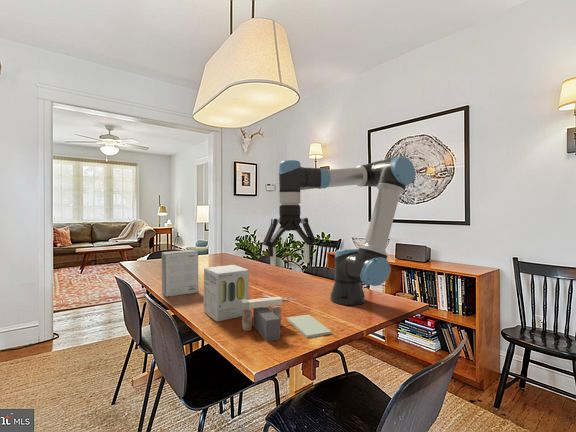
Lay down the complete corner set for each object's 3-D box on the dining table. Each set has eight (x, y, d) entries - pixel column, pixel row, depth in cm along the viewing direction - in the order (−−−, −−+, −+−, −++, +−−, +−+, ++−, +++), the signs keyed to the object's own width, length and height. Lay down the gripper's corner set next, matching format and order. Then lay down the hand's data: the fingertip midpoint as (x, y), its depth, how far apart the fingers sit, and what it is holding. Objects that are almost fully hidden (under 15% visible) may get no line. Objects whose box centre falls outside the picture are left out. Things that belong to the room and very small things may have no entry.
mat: (308, 316, 115) (308, 314, 115) (331, 333, 99) (331, 331, 99) (286, 319, 111) (286, 317, 111) (306, 337, 96) (306, 335, 96)
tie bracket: (277, 322, 109) (278, 305, 108) (280, 325, 106) (281, 308, 106) (242, 327, 104) (242, 310, 104) (244, 330, 101) (244, 312, 101)
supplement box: (216, 322, 108) (216, 273, 108) (203, 312, 119) (203, 267, 119) (249, 315, 116) (249, 269, 116) (234, 305, 127) (234, 264, 126)
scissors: (281, 304, 128) (249, 295, 141) (281, 306, 128) (249, 296, 141) (297, 299, 136) (266, 290, 149) (297, 301, 136) (266, 292, 149)
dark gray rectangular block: (265, 323, 108) (265, 305, 108) (279, 339, 95) (279, 318, 95) (253, 325, 106) (253, 307, 106) (266, 341, 93) (266, 320, 93)
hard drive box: (194, 289, 153) (194, 249, 152) (198, 292, 146) (199, 251, 146) (161, 293, 144) (161, 251, 144) (164, 297, 138) (164, 253, 137)
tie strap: (279, 302, 109) (279, 295, 109) (282, 305, 106) (282, 298, 106) (240, 306, 104) (240, 299, 104) (243, 310, 100) (243, 302, 100)
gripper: (313, 204, 117) (313, 259, 118) (253, 204, 106) (253, 265, 106) (324, 204, 111) (325, 262, 111) (261, 204, 99) (262, 269, 100)
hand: (290, 263), depth 109 cm, fingers open, 13 cm apart
